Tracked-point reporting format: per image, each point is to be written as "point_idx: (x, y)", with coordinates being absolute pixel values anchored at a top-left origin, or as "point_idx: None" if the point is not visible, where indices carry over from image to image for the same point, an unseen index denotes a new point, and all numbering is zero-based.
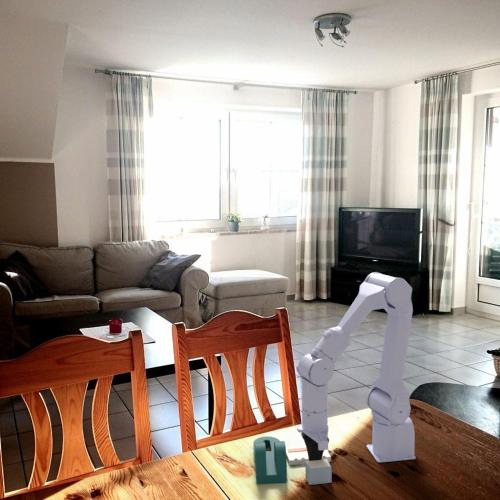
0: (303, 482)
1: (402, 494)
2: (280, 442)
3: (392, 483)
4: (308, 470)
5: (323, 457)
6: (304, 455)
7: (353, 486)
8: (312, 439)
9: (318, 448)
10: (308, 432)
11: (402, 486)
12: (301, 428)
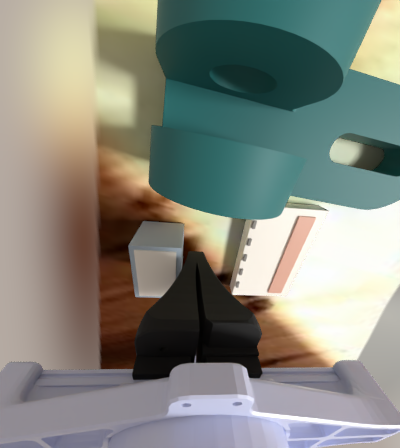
0: (159, 210)
1: (102, 338)
2: (247, 190)
3: (134, 337)
4: (143, 240)
5: (235, 281)
6: (262, 249)
7: (130, 293)
8: (153, 355)
9: (17, 368)
10: (107, 428)
11: (124, 343)
12: (194, 411)
